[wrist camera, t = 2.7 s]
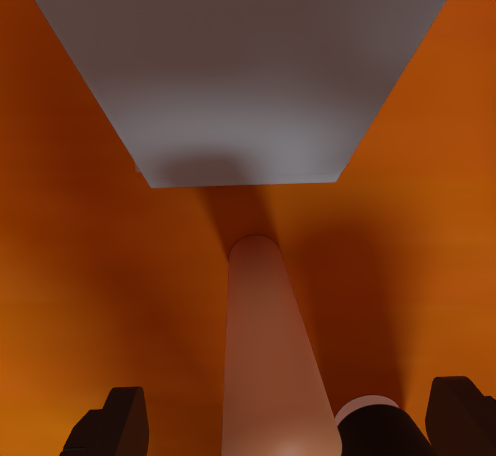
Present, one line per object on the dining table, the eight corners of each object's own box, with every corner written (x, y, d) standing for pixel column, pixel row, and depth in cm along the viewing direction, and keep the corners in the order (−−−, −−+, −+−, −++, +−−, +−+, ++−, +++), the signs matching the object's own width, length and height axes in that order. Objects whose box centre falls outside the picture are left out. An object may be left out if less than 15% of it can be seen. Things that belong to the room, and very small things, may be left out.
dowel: (249, 292, 21) (267, 512, 9) (218, 255, 20) (196, 445, 9) (291, 264, 20) (364, 459, 9) (261, 224, 20) (298, 383, 8)
